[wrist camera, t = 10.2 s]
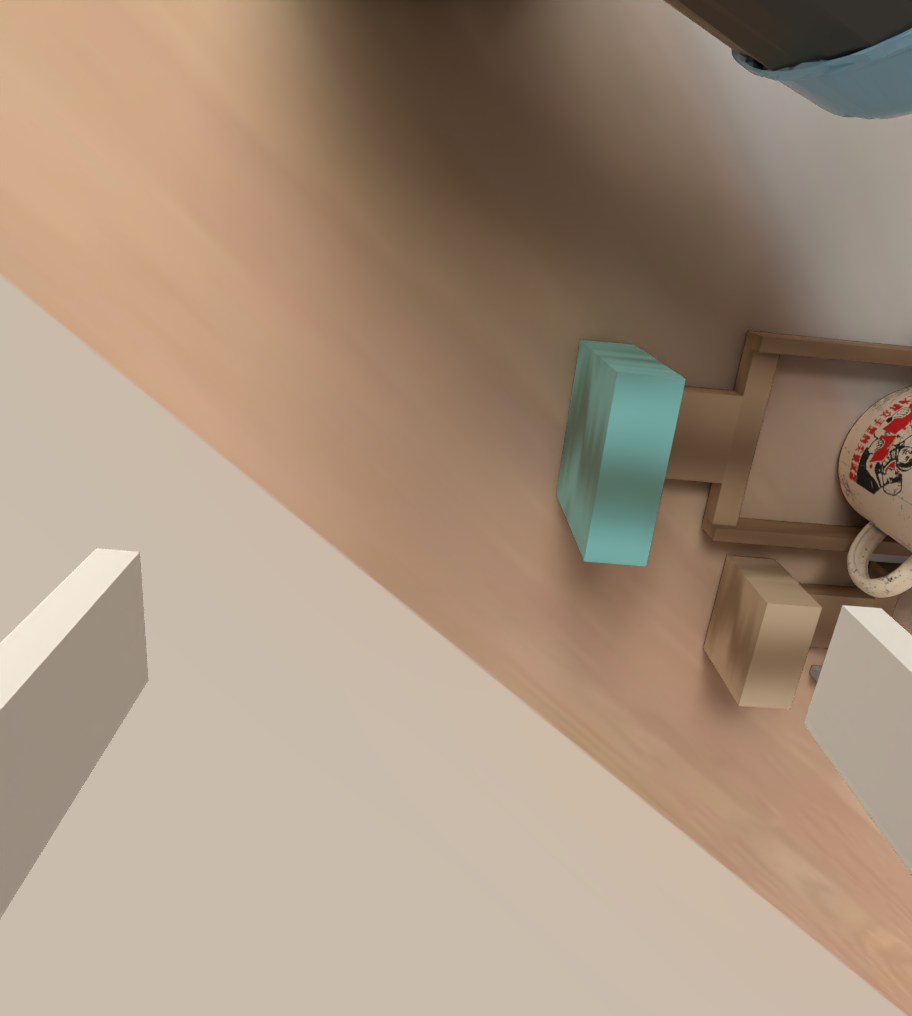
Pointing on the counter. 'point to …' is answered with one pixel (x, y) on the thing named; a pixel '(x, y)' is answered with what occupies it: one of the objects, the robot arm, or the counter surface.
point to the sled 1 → (682, 446)
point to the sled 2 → (775, 626)
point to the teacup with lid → (880, 488)
